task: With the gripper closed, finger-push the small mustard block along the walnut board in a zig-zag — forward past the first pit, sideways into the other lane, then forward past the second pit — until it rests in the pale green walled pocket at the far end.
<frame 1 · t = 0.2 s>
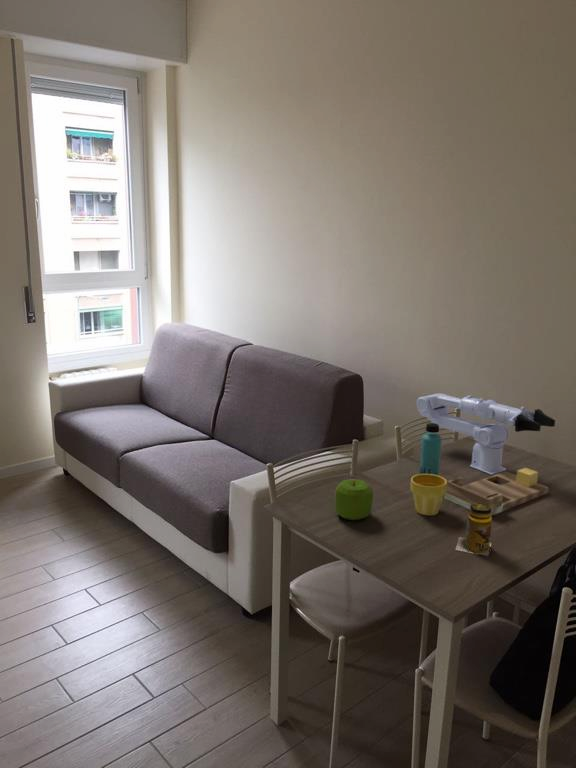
hand: (547, 425, 203), 21 cm above the table, tool horizontal, fingers open, 7 cm apart
apple: (353, 516, 188), on the table
trap board: (496, 495, 202), on the table
condiment: (473, 548, 171), on the table
beverage bottle: (428, 483, 212), on the table
plant pot: (426, 511, 192), on the table
mustard block: (526, 483, 207), point 2 cm above the table, touching trap board
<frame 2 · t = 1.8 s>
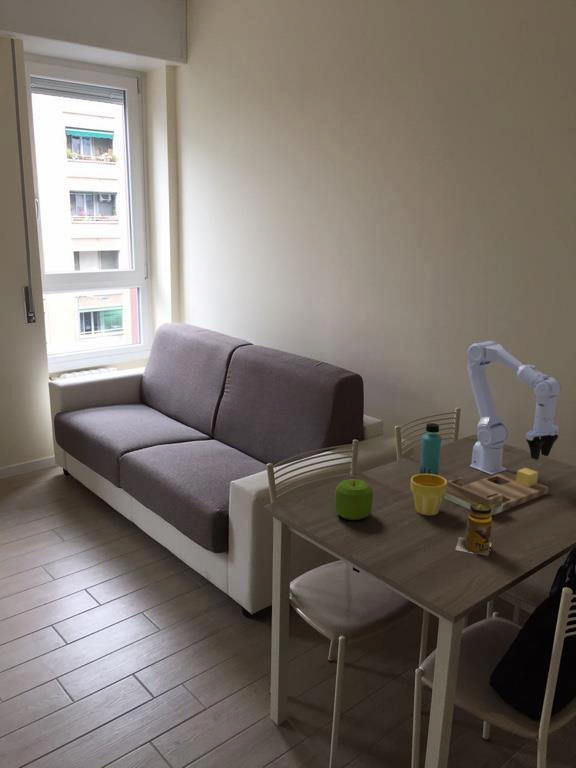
hand: (539, 457, 207), 10 cm above the table, tool pointing down, fingers open, 5 cm apart
nothing on the table moved.
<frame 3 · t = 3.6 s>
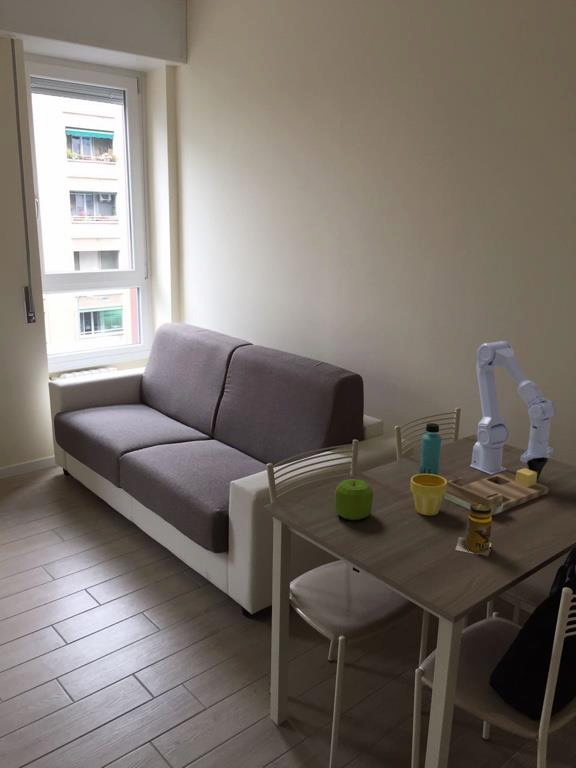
hand: (534, 478, 208), 3 cm above the table, tool pointing down, fingers closed
mustard block: (525, 483, 207), point 2 cm above the table, touching gripper, trap board
everything else where it was.
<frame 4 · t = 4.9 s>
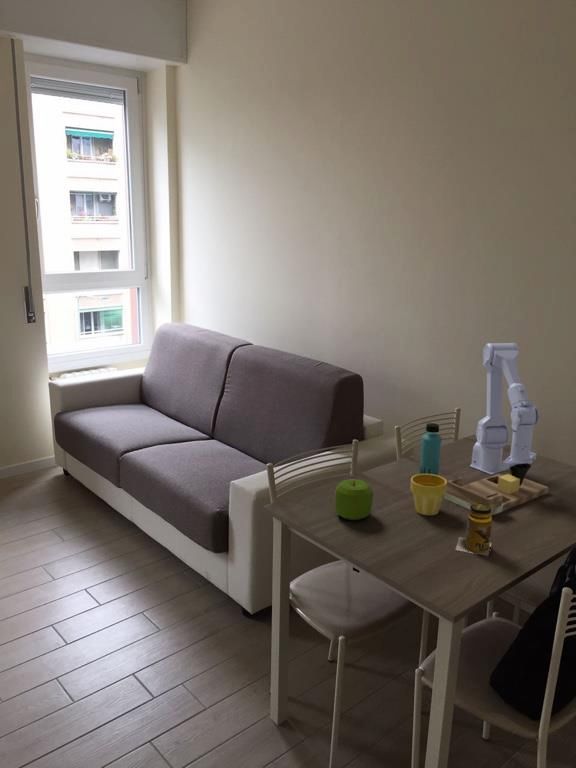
hand: (517, 485, 203), 3 cm above the table, tool pointing down, fingers closed
mustard block: (508, 489, 202), point 2 cm above the table, touching gripper
everything else where it was.
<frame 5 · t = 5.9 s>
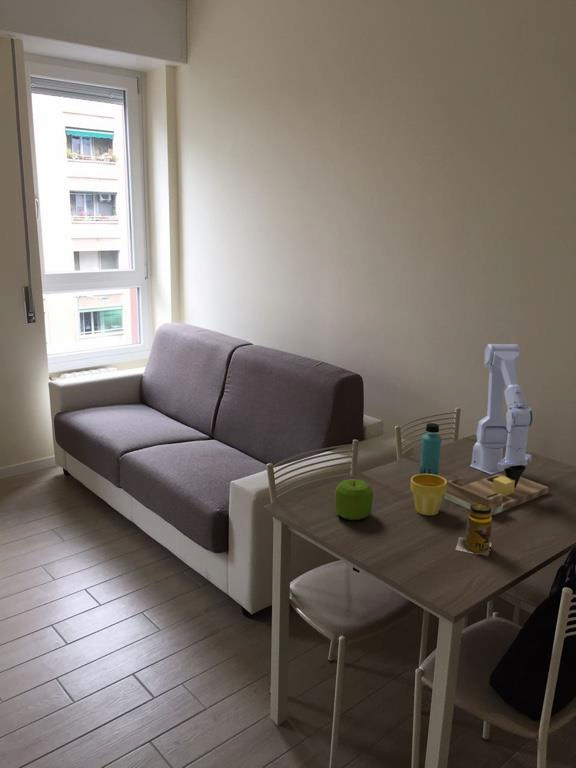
hand: (511, 486, 202), 3 cm above the table, tool pointing down, fingers closed
mustard block: (503, 491, 200), point 2 cm above the table, touching gripper, trap board
everything else where it was.
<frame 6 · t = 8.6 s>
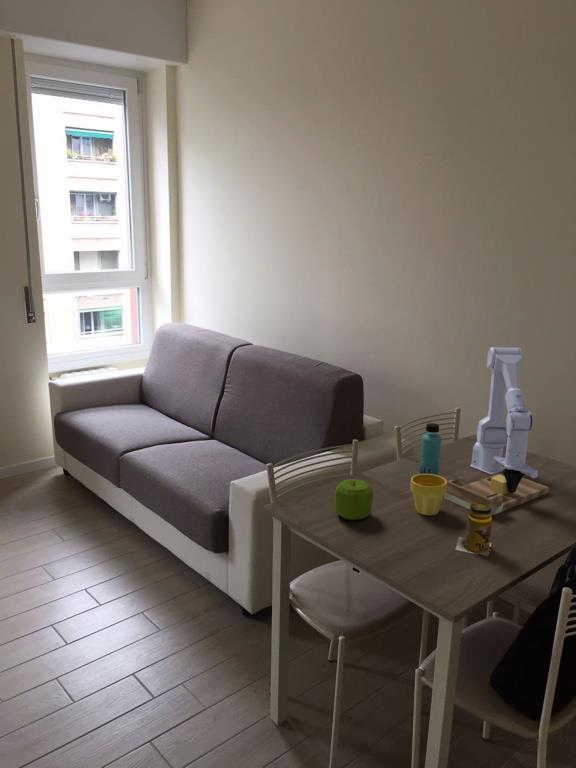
hand: (511, 491, 198), 3 cm above the table, tool pointing down, fingers closed
mustard block: (500, 490, 201), point 2 cm above the table, touching gripper
everything else where it was.
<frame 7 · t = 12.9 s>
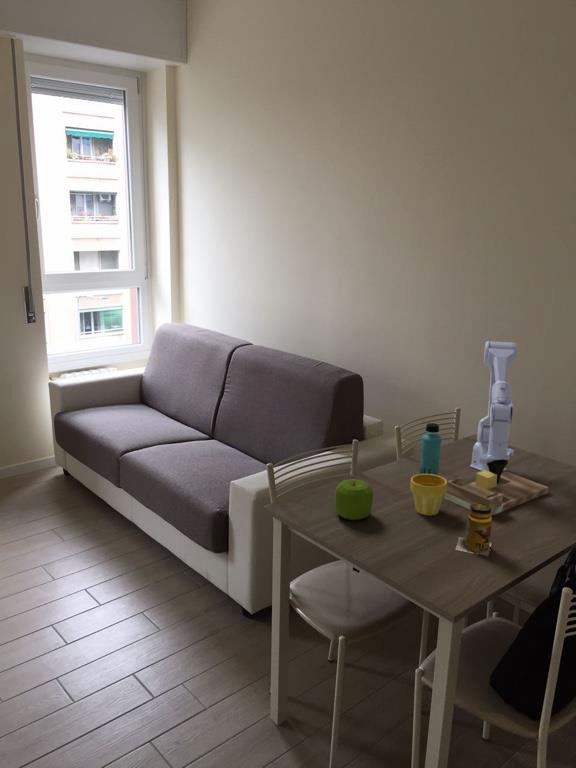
hand: (494, 480, 206), 3 cm above the table, tool pointing down, fingers closed
mustard block: (485, 485, 205), point 2 cm above the table, touching gripper
everything else where it was.
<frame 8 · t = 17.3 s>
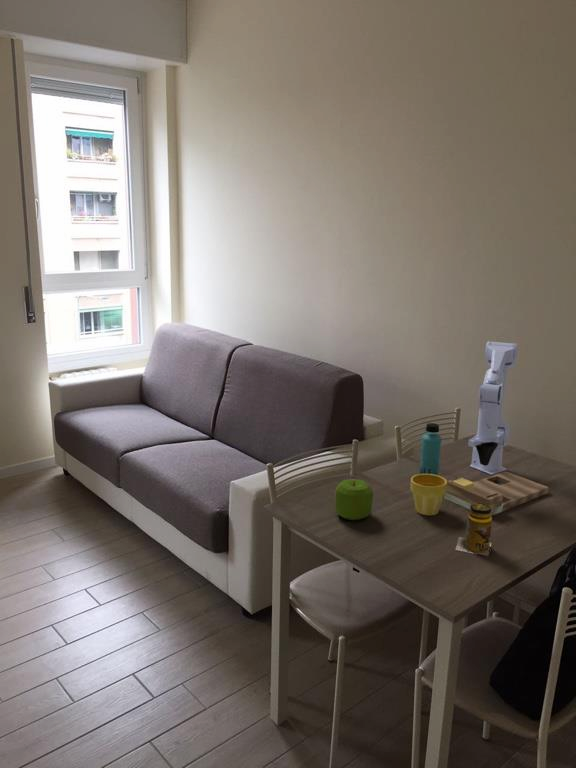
hand: (484, 464, 201), 10 cm above the table, tool pointing down, fingers closed
mustard block: (462, 494, 198), point 2 cm above the table, touching trap board
everything else where it was.
at the end: mustard block inside the target area on the trap board (4.0 cm from its centre), point 2.0 cm above the trap board's base; mustard block tilted 0° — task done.
